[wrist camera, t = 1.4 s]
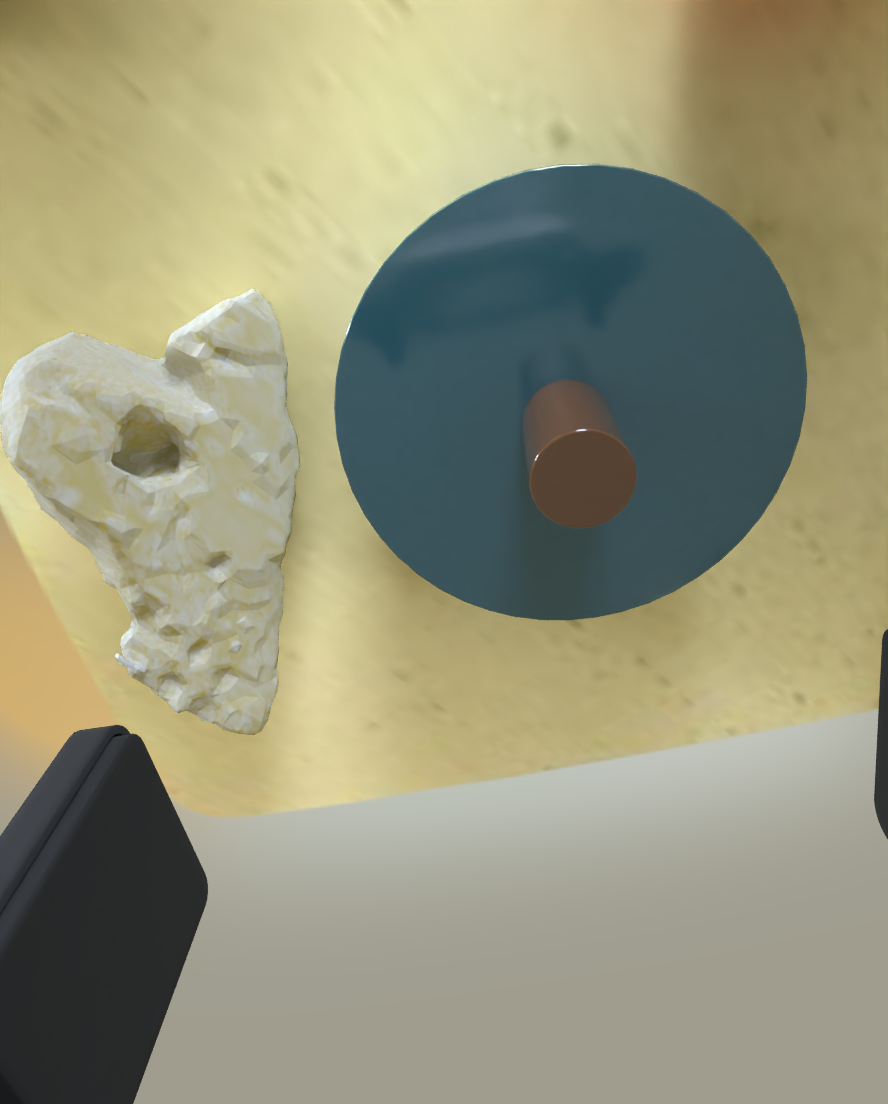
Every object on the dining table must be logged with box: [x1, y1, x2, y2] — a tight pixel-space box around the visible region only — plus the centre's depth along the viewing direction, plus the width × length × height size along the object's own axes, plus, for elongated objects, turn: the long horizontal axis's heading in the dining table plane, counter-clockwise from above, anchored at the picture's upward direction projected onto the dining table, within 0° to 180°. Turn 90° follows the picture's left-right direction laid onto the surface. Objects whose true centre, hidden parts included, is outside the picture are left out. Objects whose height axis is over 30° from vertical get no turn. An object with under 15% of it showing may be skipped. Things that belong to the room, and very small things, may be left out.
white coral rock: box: [0, 289, 300, 735], centre depth 33 cm, size 15×7×15 cm
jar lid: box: [334, 164, 807, 620], centre depth 22 cm, size 14×14×6 cm
